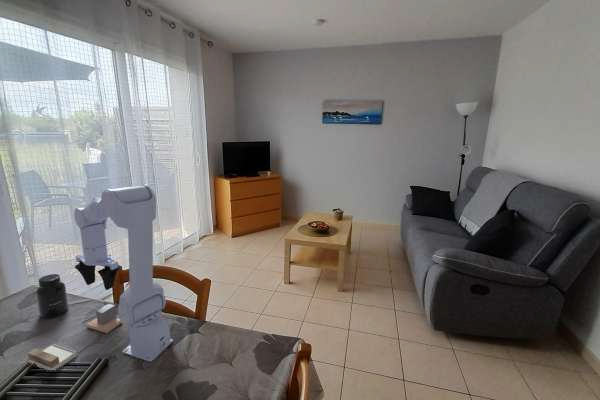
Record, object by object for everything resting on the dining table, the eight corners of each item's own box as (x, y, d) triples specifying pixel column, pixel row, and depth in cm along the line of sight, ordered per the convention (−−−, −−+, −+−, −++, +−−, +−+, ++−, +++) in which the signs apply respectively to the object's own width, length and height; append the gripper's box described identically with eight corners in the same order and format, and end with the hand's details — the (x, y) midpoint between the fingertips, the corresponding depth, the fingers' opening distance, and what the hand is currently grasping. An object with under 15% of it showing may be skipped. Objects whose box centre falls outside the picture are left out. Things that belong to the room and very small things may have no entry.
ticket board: (76, 355, 71) (75, 345, 70) (52, 372, 66) (50, 361, 65) (54, 347, 73) (52, 338, 72) (29, 363, 68) (27, 353, 67)
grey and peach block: (123, 321, 84) (121, 307, 82) (106, 333, 79) (104, 318, 77) (104, 316, 86) (102, 301, 84) (86, 327, 81) (84, 312, 79)
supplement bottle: (55, 319, 83) (49, 284, 81) (33, 318, 83) (26, 282, 81) (74, 306, 90) (69, 272, 87) (53, 304, 90) (47, 271, 87)
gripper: (125, 244, 84) (129, 283, 87) (89, 237, 88) (95, 275, 91) (103, 252, 78) (108, 295, 81) (66, 245, 82) (72, 286, 85)
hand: (100, 285), depth 86 cm, fingers open, 7 cm apart
